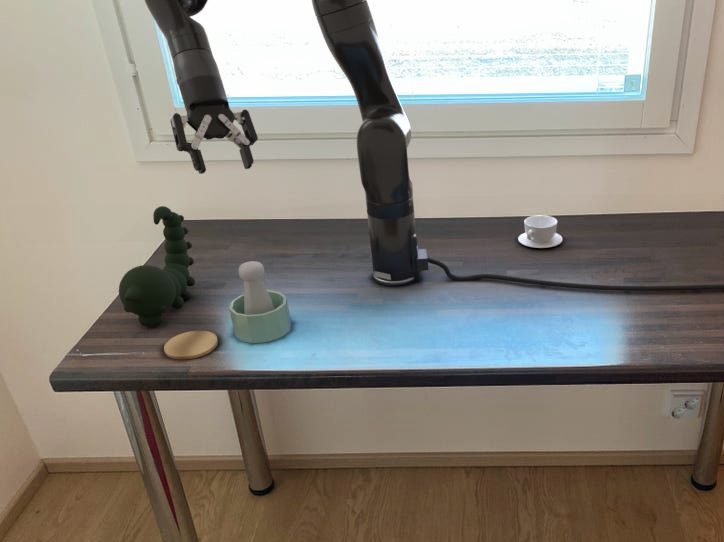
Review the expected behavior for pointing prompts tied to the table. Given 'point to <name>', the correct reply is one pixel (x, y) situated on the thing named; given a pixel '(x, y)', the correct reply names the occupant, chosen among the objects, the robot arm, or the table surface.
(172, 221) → the toy figurine
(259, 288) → the salt shaker
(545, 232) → the teacup
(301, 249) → the table surface
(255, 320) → the cup
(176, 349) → the coaster
